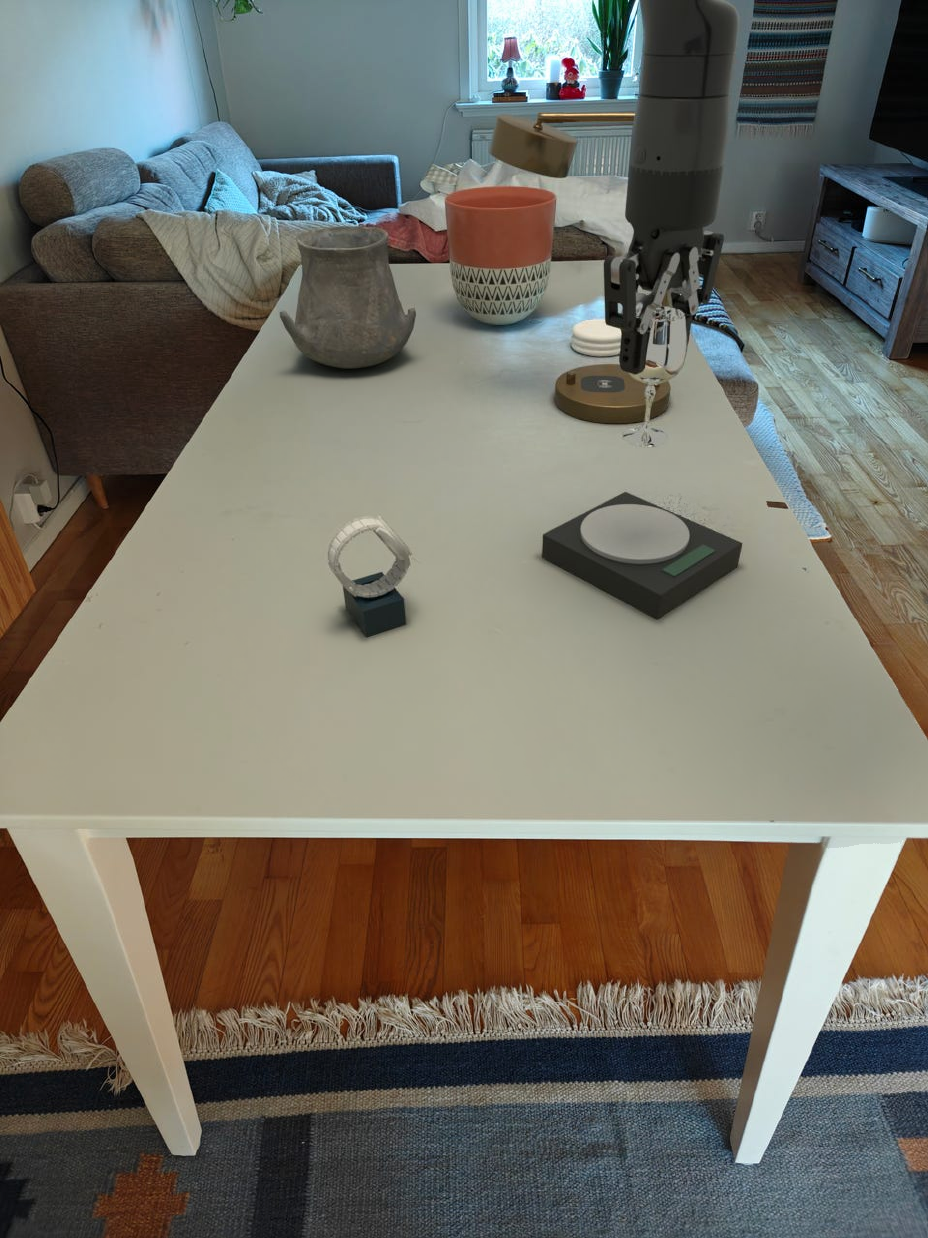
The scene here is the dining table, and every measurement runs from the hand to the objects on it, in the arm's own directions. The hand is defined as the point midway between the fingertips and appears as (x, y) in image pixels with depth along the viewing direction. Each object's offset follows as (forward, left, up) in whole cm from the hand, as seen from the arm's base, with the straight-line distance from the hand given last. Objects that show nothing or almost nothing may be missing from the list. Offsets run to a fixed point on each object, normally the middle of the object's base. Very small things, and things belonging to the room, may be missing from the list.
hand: (653, 361), depth 79 cm
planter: (+71, -48, -23) cm, 89 cm away
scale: (0, -1, -23) cm, 23 cm away
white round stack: (+48, -50, -23) cm, 73 cm away
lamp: (+35, -30, -23) cm, 52 cm away
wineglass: (0, 0, -8) cm, 8 cm away
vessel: (+75, -17, -23) cm, 80 cm away
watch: (+12, +26, -23) cm, 36 cm away
